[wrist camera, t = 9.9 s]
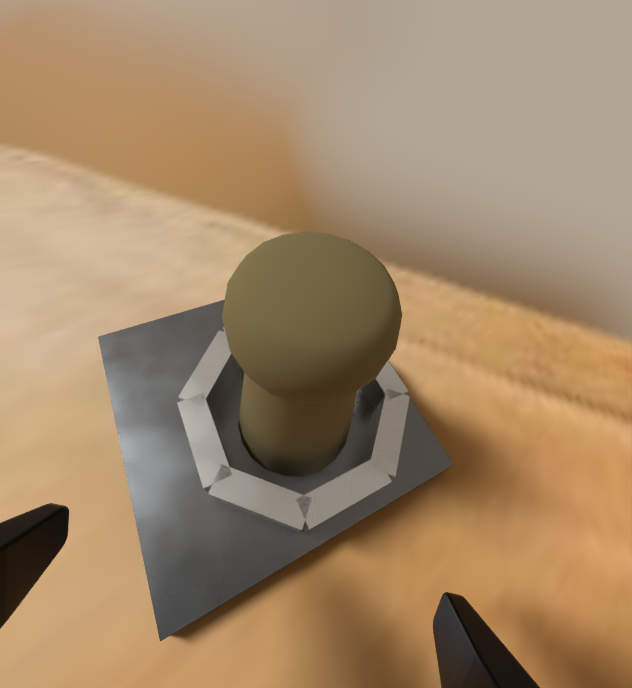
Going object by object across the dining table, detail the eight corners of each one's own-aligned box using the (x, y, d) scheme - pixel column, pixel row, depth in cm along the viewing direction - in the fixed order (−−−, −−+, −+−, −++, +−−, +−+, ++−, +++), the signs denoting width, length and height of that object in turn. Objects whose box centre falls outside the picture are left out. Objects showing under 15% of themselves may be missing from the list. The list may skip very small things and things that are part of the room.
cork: (293, 505, 15) (324, 445, 6) (214, 415, 17) (143, 262, 8) (372, 419, 18) (477, 285, 9) (296, 350, 20) (317, 177, 10)
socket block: (445, 467, 18) (479, 453, 15) (167, 635, 13) (136, 661, 10) (322, 279, 24) (329, 243, 21) (105, 345, 20) (75, 310, 17)
